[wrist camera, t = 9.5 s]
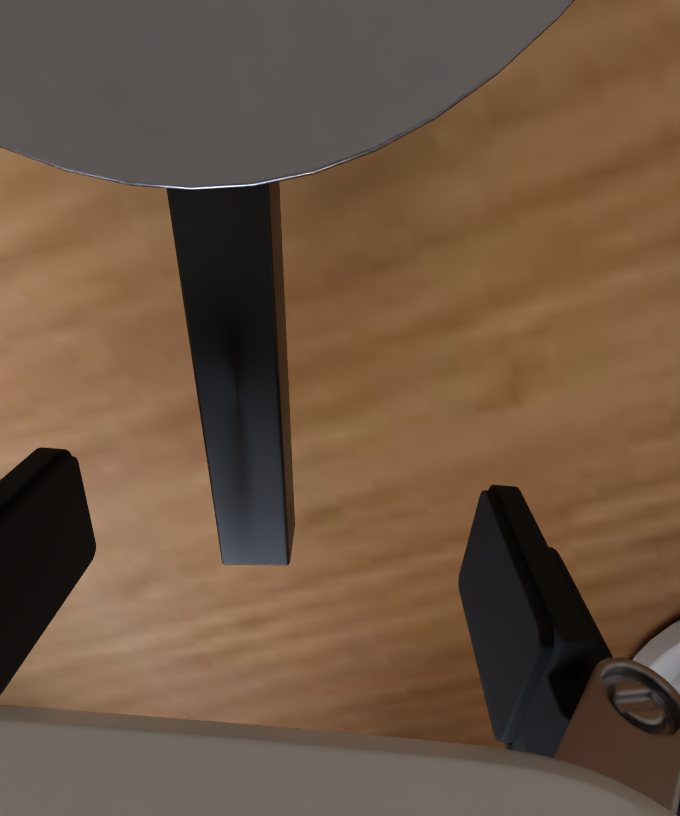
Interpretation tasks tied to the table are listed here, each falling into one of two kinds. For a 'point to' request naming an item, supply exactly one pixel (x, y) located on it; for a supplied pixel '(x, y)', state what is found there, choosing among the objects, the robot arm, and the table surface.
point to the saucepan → (241, 164)
